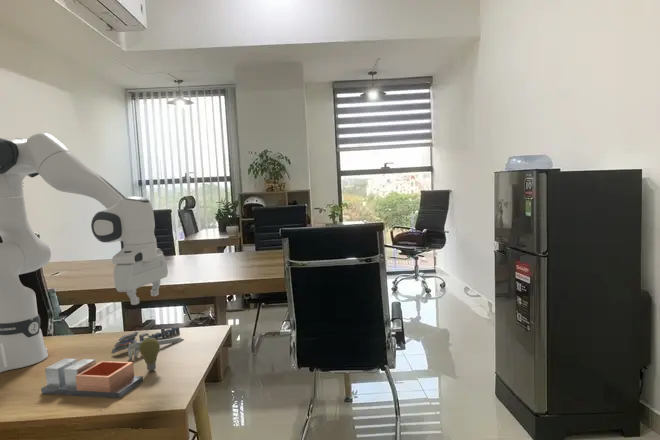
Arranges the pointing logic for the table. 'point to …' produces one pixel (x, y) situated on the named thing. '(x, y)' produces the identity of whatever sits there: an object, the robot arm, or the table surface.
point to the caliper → (136, 345)
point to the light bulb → (150, 352)
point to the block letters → (127, 338)
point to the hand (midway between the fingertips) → (145, 299)
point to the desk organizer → (90, 378)
